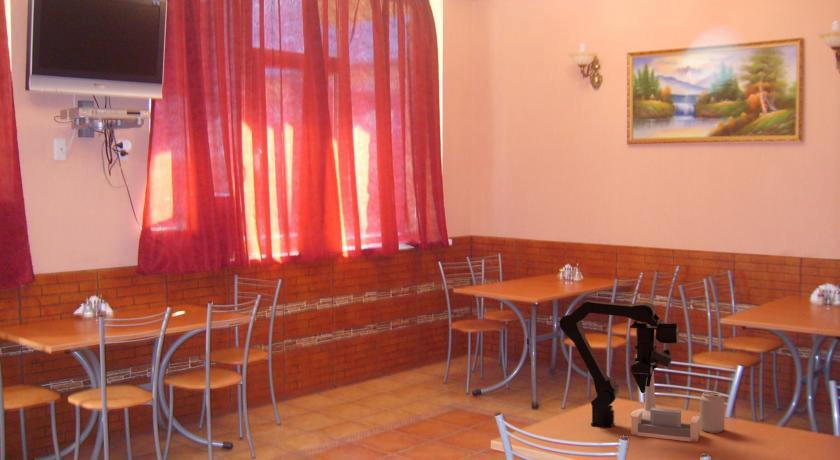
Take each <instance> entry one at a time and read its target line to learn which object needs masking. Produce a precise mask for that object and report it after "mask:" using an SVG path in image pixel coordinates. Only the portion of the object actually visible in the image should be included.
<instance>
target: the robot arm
mask: <svg viewBox="0 0 840 460" xmlns="http://www.w3.org/2000/svg"><path fill="white" fill-rule="evenodd" d="M656 312H657V311H656V308H655V305H653V304H652V303H651V302H636V303H630V304H629V303H626V304H625V303H616V302H605V301H597V300H596V301H595V300H591V299H588V300H586V301H584V302H583V303H582V304H581V305H580V306H579V307H577V308H576V309H575V310H574V311H573V312H569V313H567V314H565V315H564V316H562V317H560V321H559V323H558V324H559V328H560V330H562V332H563V333H564V334H565V336H566V337H567V338H568V339H569V340H571V341H572V343H573V344H574V346H575V349H577V352H578V354H579V355H580V356H579V357H581V359H582V361H583V363H584V365H585V367H586V369H587V370H588V372H589V374H590V376H591V377H592V380H593V384H594V385H593V386H594V390H595V393H596V396H595V397H594V398H593V399H592V400H591V402H590V404H591V423H590V426H592V427H602V428H611V427H612V426H613V425H614V423H615V410H614V406H613V405H612V404H613V403H614V402H615V400H616V399H618V397H619V395H620V389H619V388H620V385H618V384H617V382H616V379H615V377H614V375H612V376H611V377H610V376H609V375H608V374H606V372H605V370H604V369H603V367H602V365H601V363H600V362H599V360H598V358H597V355H596V354H595V352H594V350H593V349H592V346H591V344H590V342H589V341H588V339H587V337H586V334H585V329H584V324H583V322H582V321H583V320H584V319H585V318H586V317H588V316H589V315H590V314H599V315H608V316H615V317H625V318H628V319H631V320H632V321H633V323H632V324H631V325H629V328H630V329H635V331H636V332H635V333H636V334H635V335H636V336H635V339H636V340H635V342H636V343H635V346H634V349H635V351H636V356H635V358H634V363H632V365H630V373H631V375H633V378H634V380H635V382H636V384H637V387H638V389H639V391H640V393H641V394H646V386H647V387H649V386H650V383H651V378H652V374H653V370H656V368H658V366H659V365H662V366H663V367H666V368H669V367H670V366H671V363H672V361H673V359H674V355H672V353H671V350H670V349H668V348H664V350H663V351H662V350H660V349H658V348H657V346H658V345H656V344H655V340H657V341H658V343H660V344H669V345H678V344H679V340H680V332H679V327H678V324H679V323H678V322H664V321H662V319H661V318H660V317H659V315H658V314H657V313H656Z"/></svg>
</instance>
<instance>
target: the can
mask: <svg viewBox="0 0 840 460" xmlns="http://www.w3.org/2000/svg"><path fill="white" fill-rule="evenodd" d="M725 403H726V400H725V398H724V397H723V393H720V392H717V391H704V392H702V393H701V396H700V400H699V408H700V409H699V410H700V411H699V416H700V429H702V431H704V432H707V433H713V434H714V433H715V434H717V433H718V434H719V433H722V432H723V431H724V430H725V426H726V425H725V419H726V418H725V416H726V415H725V413H726V411H725V410H726V408H725V406H726V405H725Z"/></svg>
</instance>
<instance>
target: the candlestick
mask: <svg viewBox="0 0 840 460" xmlns="http://www.w3.org/2000/svg"><path fill="white" fill-rule="evenodd" d="M654 370H655V369H654ZM654 370H653V374H652V378H651V383H650V386H649V387H647V386H646V389H645V393H644V394H645V395H644V396H645V397H644V406H643V407H644V408H643V407H642V408H638V409H635V410H634V411H632V412H631V413H630V417H631V416H632V415H633V413H634V412H635V411H636V410H641V411H642V419H648V420H650V410H651V408H657V407H656V395H655V394H656V391H655V373H654Z"/></svg>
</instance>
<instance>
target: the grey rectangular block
mask: <svg viewBox="0 0 840 460" xmlns="http://www.w3.org/2000/svg"><path fill="white" fill-rule="evenodd" d="M681 423H682V410H681V409H672V408H669V409H668V408H661V407H660V408H659V407H656V408H651V410H650V425H658V426H667V427H677V428H681Z"/></svg>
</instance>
